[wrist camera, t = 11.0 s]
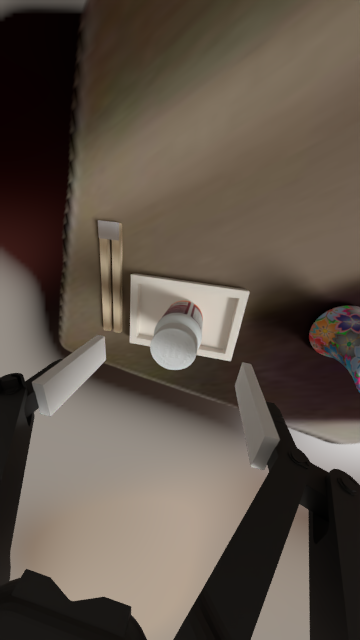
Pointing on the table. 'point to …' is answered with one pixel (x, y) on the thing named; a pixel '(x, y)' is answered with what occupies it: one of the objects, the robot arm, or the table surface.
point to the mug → (339, 337)
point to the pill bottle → (177, 336)
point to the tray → (213, 300)
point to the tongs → (106, 234)
